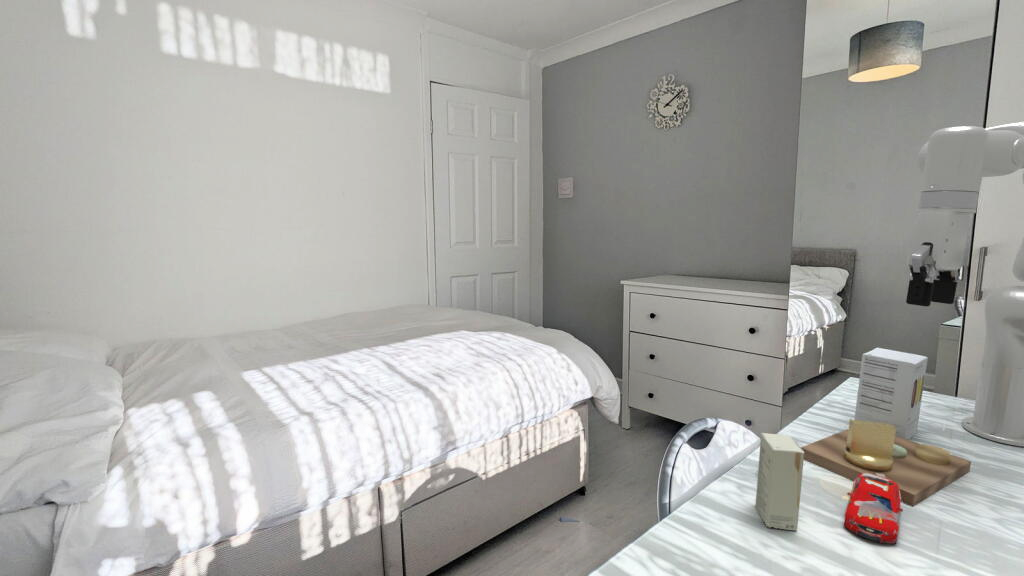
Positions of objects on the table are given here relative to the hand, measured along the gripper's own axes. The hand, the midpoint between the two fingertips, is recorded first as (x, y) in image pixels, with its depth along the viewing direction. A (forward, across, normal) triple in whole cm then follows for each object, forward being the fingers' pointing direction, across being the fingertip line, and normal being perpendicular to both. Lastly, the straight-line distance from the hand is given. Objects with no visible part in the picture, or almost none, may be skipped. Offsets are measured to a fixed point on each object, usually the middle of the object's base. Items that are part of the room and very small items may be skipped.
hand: (930, 303), depth 85 cm
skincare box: (+32, +34, -3) cm, 47 cm away
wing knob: (+29, +7, -3) cm, 30 cm away
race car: (+32, +20, +4) cm, 38 cm away
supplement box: (+30, -16, -9) cm, 36 cm away
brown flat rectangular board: (+31, +1, -3) cm, 31 cm away
